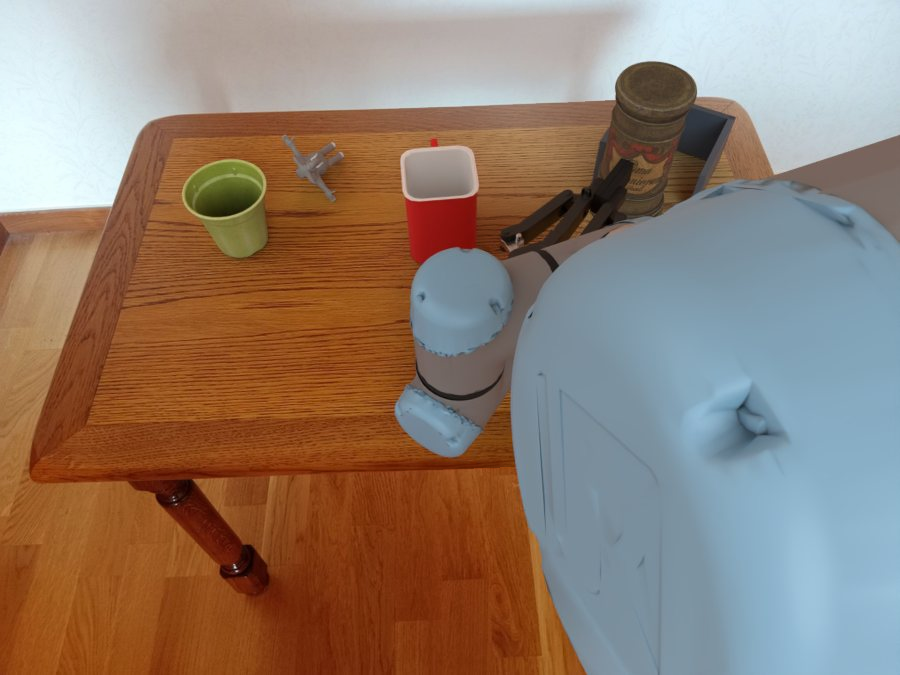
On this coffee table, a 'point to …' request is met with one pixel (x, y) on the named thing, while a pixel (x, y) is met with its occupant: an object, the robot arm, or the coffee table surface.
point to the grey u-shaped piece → (695, 140)
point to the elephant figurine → (314, 164)
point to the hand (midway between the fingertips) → (625, 169)
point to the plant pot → (230, 205)
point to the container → (647, 131)
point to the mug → (440, 198)
